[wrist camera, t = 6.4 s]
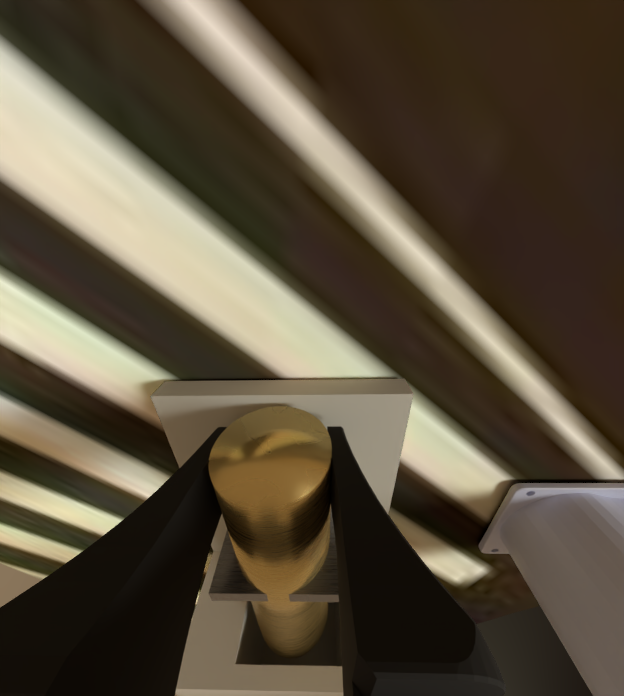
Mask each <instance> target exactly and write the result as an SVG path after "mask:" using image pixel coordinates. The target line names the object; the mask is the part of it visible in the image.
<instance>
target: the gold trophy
mask: <svg viewBox="0 0 624 696" xmlns="http://www.w3.org/2000/svg"><path fill="white" fill-rule="evenodd" d="M331 461H332V444H331V439H330V436H329V433H328V431H327V429H326V428H325V426H324V425H323V423H322V422H321V421H320V420H319V419H317V418H316V417H315V416H313V415H312V414H310V413H308V412H306V411H304V410H301V409H298V408H293V407H286V406H276V407H267V408H263V409H259V410H256V411H253V412H250V413H248V414H246V415H244V416H242V417H240V418H239V419H237V420H236V421H234V422H233V423H232V424H230V425H229V426H228V427H227V428H226V429H225V430H224V431H223V432H222V433H221V434H220V436H219V437H218V439H217V440H216V442H215V444H214V446H213V448H212V450H211V453H210V457H209V475H210V478H211V481H212V484H213V487H214V490H215V493H216V496H217V500H218V503H219V506H220V509H221V512H222V515H223V518H224V521H225V524H226V527H227V532H226V535H225V539H224V542H223V545H222V549H221V552H220V556H219V559H218V562H217V566H216V569H215V573H214V576H213V580H212V583H211V586H210V590H209V593H208V594H209V596H210V597H211V599H212V601H251V603H252V606H253V609H254V612H255V615H256V618H257V621H258V624H259V627H260V630H261V633H262V636H263V638H264V640H265V642H266V644H267V645H268V646H269V648H270V649H271V650H272V651H273V652H274V653H276V654H277V655H279V656H281V657H284V658H290V659H291V658H298V657H301V656H303V655H305V654H306V653H308V652H309V651H310V650H311V649H312V648H313V647H314V646H315V645H316V644H317V642H318V641H319V639H320V637H321V636H322V633H323V631H324V629H325V625H326V622H327V617H328V603H329V602H339V593H338V573H337V554H336V543H335V534H334V526H333V518H332V510H331Z"/></svg>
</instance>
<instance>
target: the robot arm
mask: <svg viewBox="0 0 624 696" xmlns="http://www.w3.org/2000/svg"><path fill="white" fill-rule="evenodd" d="M226 428H227V427H218V428H217V429H216V430H215V431H214V432H213V433H212V434H211V435H210V436H209V437H208V438H207V440H206V441H205V442H204V443H203V444H202V445H201V446H200V447H199V448H198V449H197V451H196V452H195V453H194V454H193V455H192V456H191V457H190V458H189V459H188V460H187V461H186V462H185V463H184V464H183V465H182V466H181V467H180V468H179V469H178V470H177V472H176V473H174V474H173V475H172V476H171V477H170V478H169V479H168V480H167V481H166V482H165V483H164V484H163V485H162V486H161V487H160V488H159V489H158V490H157V491H156V492H155V493H154V494H153V495H152V496H150V497H149V498H148V499H147V500H146V501H145V502H144V503H143V504H142V505H140V506H139V507H138V508H137V509H136V510H135V511H133V512H132V513H131V514H130V515H129V516H128V517H126V518H125V519H124V520H123V521H121V522H120V523H119V524H118V525H116V526H115V527H114V528H113V529H111V530H110V531H109V532H107V533H106V534H105V535H104V536H102V537H101V538H100V539H99V540H97V541H96V542H95V543H93V544H92V545H91V546H89V547H88V548H87V549H85V550H84V551H83V552H81V553H80V554H78V555H77V556H76V557H74V558H73V559H72V560H70V561H69V562H67V563H66V564H65V565H63V566H62V567H60V568H59V569H57V570H56V571H55V572H53V573H52V574H50V575H49V576H47V577H46V578H44V579H43V580H42V581H40V582H39V583H37V584H36V585H34V586H32V587H31V588H30V589H28V590H26V591H25V592H23V593H22V594H20V595H19V596H17V597H16V598H14V599H13V600H11V601H10V602H8V603H7V604H5V605H4V606H2V607H1V608H0V696H175V692H176V687H177V682H178V678H179V673H180V668H181V663H182V659H183V654H184V650H185V645H186V641H187V637H188V632H189V628H190V624H191V620H192V615H193V611H194V607H195V603H196V599H197V595H198V591H199V587H200V583H201V579H202V576H203V572H204V568H205V564H206V561H207V557H208V553H209V550H210V547H211V543H212V540H213V537H214V534H215V532H216V529H217V526H218V523H219V520H220V518H221V515H222V512H221V509H220V506H219V503H218V500H217V496H216V493H215V490H214V487H213V484H212V481H211V478H210V475H209V457H210V453H211V450H212V448H213V446H214V444H215V442H216V440H217V439H218V437H219V436H220V434H221V433H222V432H223V431H224V430H225V429H226ZM327 431H328V433H329V436H330V439H331V444H332V461H331V510H332V518H333V526H334V534H335V543H336V554H337V573H338V593H339V612H340V633H341V654H342V676H343V696H503V695H504V694H505V690H506V686H505V683H504V681H503V678H502V675H501V673H500V670H499V668H498V666H497V663H496V661H495V660H494V657H493V655H492V653H491V651H490V649H489V647H488V645H487V643H486V641H485V640H484V637H483V636H482V634H481V632H480V630H479V628H478V627H477V625H476V623H475V621H474V620H473V619H472V618H471V617H470V616H469V614H468V613H467V612H466V611H465V610H464V609H463V608H462V607H461V606H460V604H459V603H458V602H457V601H456V600H455V599H454V598H453V596H452V595H451V594H450V593H449V592H448V591H447V590H446V588H445V587H444V586H443V585H442V584H441V583H440V581H439V580H438V579H437V578H436V577H435V575H434V574H433V573H432V572H431V571H430V569H429V568H428V567H427V566H426V565H425V563H424V562H423V561H422V560H421V558H420V557H419V556H418V554H417V553H416V552H415V550H414V549H413V548H412V547H411V545H410V544H409V543H408V541H407V540H406V539H405V537H404V536H403V535H402V534H401V532H400V531H399V529H398V528H397V527H396V525H395V524H394V522H393V521H392V520H391V518H390V517H389V515H388V514H387V512H386V511H385V509H384V508H383V506H382V505H381V503H380V502H379V500H378V498H377V497H376V495H375V493H374V492H373V490H372V488H371V487H370V485H369V483H368V482H367V480H366V478H365V476H364V474H363V473H362V471H361V469H360V467H359V465H358V463H357V461H356V459H355V457H354V455H353V453H352V450H351V448H350V446H349V443H348V441H347V438H346V436H345V433H344V429H343V428H342V427H341V426H327ZM479 548H480V550H481V552H483V553H488V554H510V555H511V557H512V559H513V560H514V562H515V564H516V565H517V567H518V569H519V571H520V572H521V574H522V576H523V577H524V579H525V581H526V582H527V584H528V586H529V587H530V589H531V591H532V593H533V594H534V596H535V598H536V599H537V601H538V603H539V604H540V606H541V608H542V609H543V611H544V613H545V615H546V616H547V618H548V620H549V621H550V623H551V625H552V626H553V628H554V630H555V632H556V633H557V635H558V636H559V638H560V640H561V642H562V643H563V645H564V647H565V648H566V650H567V652H568V654H569V655H570V657H571V659H572V660H573V662H574V664H575V665H576V667H577V669H578V670H579V672H580V674H581V676H582V677H583V679H584V681H585V682H586V684H587V686H588V687H589V689H590V691H591V692H592V694H593V696H624V483H517V484H514V485H513V486H511V488H510V489H509V491H508V493H507V495H506V497H505V498H504V500H503V502H502V504H501V506H500V507H499V509H498V511H497V513H496V515H495V516H494V518H493V520H492V522H491V524H490V525H489V527H488V529H487V531H486V533H485V534H484V536H483V538H482V540H481V542H480V543H479Z"/></svg>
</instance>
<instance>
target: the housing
mask: <svg viewBox="0 0 624 696" xmlns="http://www.w3.org/2000/svg"><path fill="white" fill-rule="evenodd" d="M150 397H151V399H152V402H153V404H154V407H155V409H156V411H157V414H158V416H159V419H160V421H161V424H162V426H163V429H164V431H165V434H166V436H167V438H168V441H169V443H170V446H171V448H172V451H173V453H174V456H175V458H176V461H177V463H178V465H179V468H180V467H181V466H182V465H183V464H184V463H185V462H186V461H187V460H188V459H189V458H190V457H191V456H192V455H193V454H194V453H195V452H196V451H197V449H198V448H199V447H200V446H201V445H202V444H203V443H204V442H205V441H206V440H207V438H208V437H209V436H210V435H211V434H212V433H213V432H214V431H215V430H216V429H217V428H218V427H228V426H229V425H230V424H232V423H233V422H234V421H236V420H237V419H239V418H240V417H242V416H244V415H246V414H248V413H250V412H253V411H256V410H259V409H263V408H267V407H276V406H286V407H293V408H298V409H301V410H304V411H306V412H308V413H310V414H312V415H313V416H315V417H316V418H317V419H319V420H320V421H321V422H322V423H323V425H324V426H325V428H326V429H327V426H341V427H342V428H343V429H344V433H345V436H346V438H347V441H348V443H349V446H350V448H351V450H352V453H353V455H354V457H355V459H356V461H357V463H358V465H359V467H360V469H361V471H362V473H363V474H364V476H365V478H366V480H367V482H368V483H369V485H370V487H371V488H372V490H373V492H374V493H375V495H376V497H377V498H378V500H379V502H380V503H381V505H382V506H383V508H384V509H385V511H386V512H387V514H389V509H390V504H391V499H392V494H393V490H394V485H395V480H396V475H397V470H398V466H399V461H400V456H401V451H402V447H403V442H404V437H405V432H406V427H407V423H408V418H409V413H410V408H411V403H412V399H413V392H412V391H411V389H410V387H409V385H408V384H407V382H406V380H405V379H336V380H235V381H165V382H164V383H163V384H162V385H161V386H160V387H159V388H158V389H157V390H156V391H155V392H154V393H153V394H152V395H151V396H150ZM226 532H227V527H226V524H225V521H224V518H223V515H221V518H220V520H219V523H218V526H217V529H216V532H215V534H214V537H213V540H212V543H211V547H212V549H213V554H212V557H211V560H210V564H209V567H208V570H207V573H206V576H205V579H204V583H203V586H202V589H201V592H200V595H199V599H198V602H197V605H196V608H195V611H194V614H193V618H192V621H191V624H190V628H189V632H188V637H187V641H186V645H185V650H184V654H183V659H182V663H181V668H180V673H179V678H178V682H177V687H176V692H175V694H177V695H178V696H343V676H342V654H341V633H340V612H339V602H329V603H328V617H327V622H326V625H325V629H324V631H323V633H322V636H321V637H320V639H319V641H318V642H317V644H316V645H315V646H314V647H313V648H312V649H311V650H310V651H309V652H308V653H306V654H305V655H303V656H301V657H298V658H291V659H290V658H284V657H281V656H279V655H277V654H276V653H274V652H273V651H272V650H271V649H270V648H269V646H268V645H267V644H266V642H265V640H264V638H263V636H262V633H261V630H260V627H259V624H258V621H257V618H256V615H255V612H254V609H253V606H252V603H251V601H212V599H211V597H210V596H209V594H208V593H209V590H210V586H211V583H212V580H213V576H214V573H215V569H216V566H217V562H218V559H219V556H220V552H221V549H222V545H223V542H224V539H225V535H226Z"/></svg>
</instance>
